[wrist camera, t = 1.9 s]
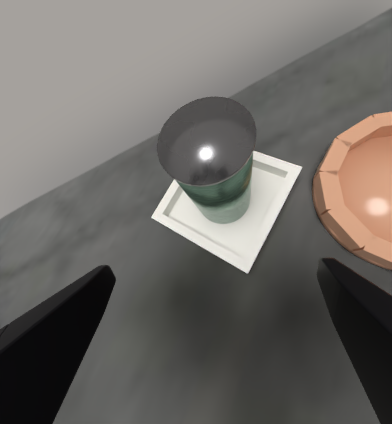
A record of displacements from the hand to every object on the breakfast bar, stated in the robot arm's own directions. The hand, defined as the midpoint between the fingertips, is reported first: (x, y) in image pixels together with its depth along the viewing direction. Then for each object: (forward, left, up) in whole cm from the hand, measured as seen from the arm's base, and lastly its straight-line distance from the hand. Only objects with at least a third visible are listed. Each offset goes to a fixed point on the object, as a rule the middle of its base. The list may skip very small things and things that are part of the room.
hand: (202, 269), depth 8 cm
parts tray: (+4, -7, -13) cm, 16 cm away
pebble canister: (+4, -7, -12) cm, 15 cm away
